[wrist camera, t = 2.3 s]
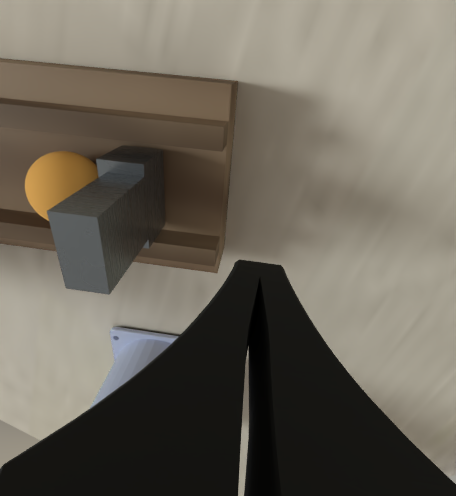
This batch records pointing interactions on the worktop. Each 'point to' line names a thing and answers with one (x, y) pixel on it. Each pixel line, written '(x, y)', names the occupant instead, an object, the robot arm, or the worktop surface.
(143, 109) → the brown wooden moulding block
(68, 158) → the ball
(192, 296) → the worktop surface
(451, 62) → the worktop surface
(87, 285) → the gray l-shaped bracket
